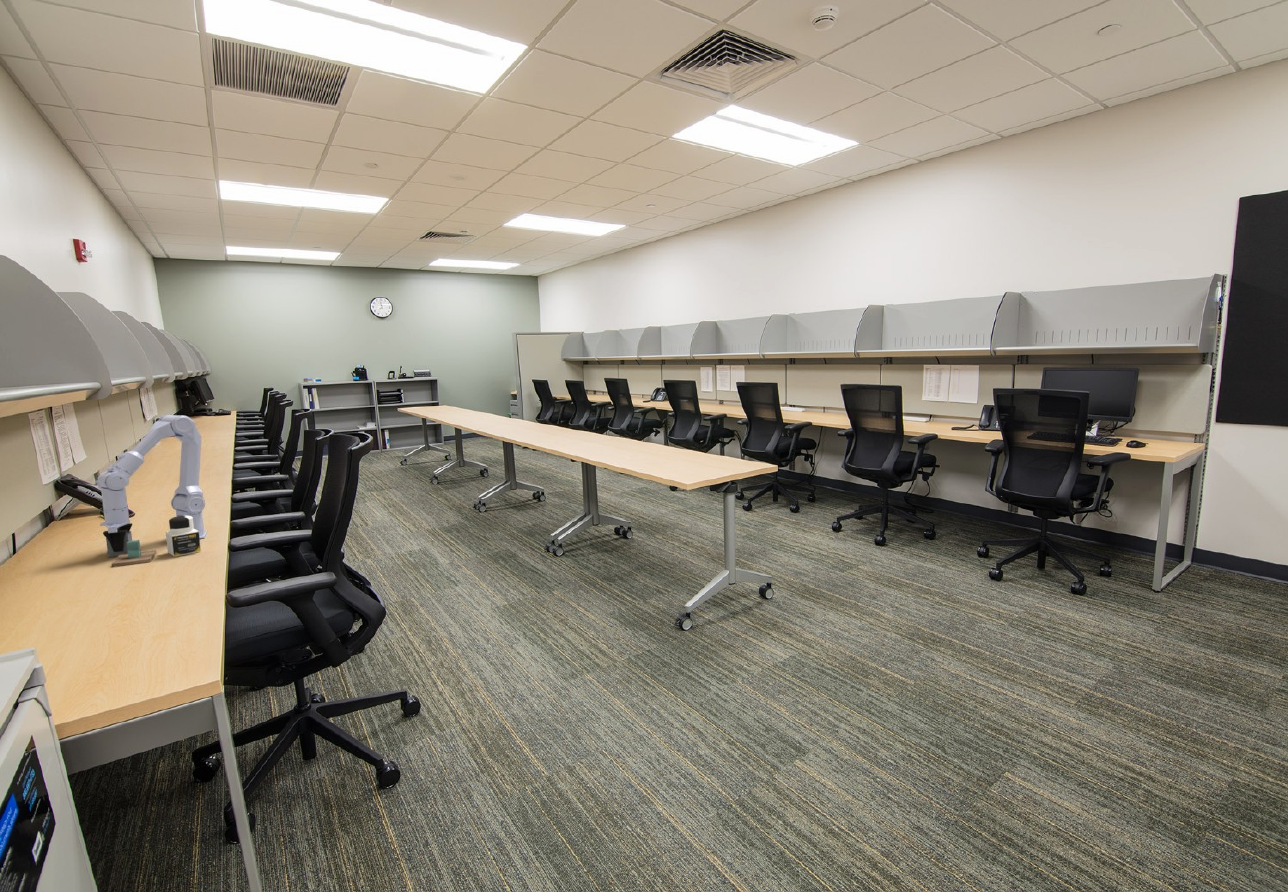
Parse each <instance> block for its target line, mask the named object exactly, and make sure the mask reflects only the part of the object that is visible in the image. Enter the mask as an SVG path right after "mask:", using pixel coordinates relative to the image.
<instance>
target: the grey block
mask: <svg viewBox="0 0 1288 892" xmlns="http://www.w3.org/2000/svg"><path fill="white" fill-rule="evenodd" d="M132 535H133V534H132V531H131V530H130V531H128V532H126V535H125V539H124V548H123V551H120V552H114V551H113V549H112V547H111V545H110V542H109V541H108V539H107V538H106V537H105V541H106V542H105V543H106V551H107V557H108V558H114V556H116V557H118V556H119V555H122V554H128V551H127V542H128V541H133V536H132Z"/></svg>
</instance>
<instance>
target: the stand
mask: <svg viewBox="0 0 1288 892" xmlns="http://www.w3.org/2000/svg"><path fill="white" fill-rule="evenodd" d="M127 551H128V554H122V555H119V556H116V557H115V560H113V562H112V563H111V568H115V566H117V567H122V566H123V567H124V566H129V565H130V564H131V565H138V564H139V565H140V564H145V563H151V562H152V561H153V559H154V557H156V555H157V549H155V550H147V551H141V545H140V539H135V540H133V539H132V541H128V542H127Z"/></svg>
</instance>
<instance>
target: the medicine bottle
mask: <svg viewBox="0 0 1288 892" xmlns="http://www.w3.org/2000/svg"><path fill="white" fill-rule="evenodd" d="M168 525H169V531H166V532H165V538H166V547H167V548H166V549H167V553H168V554H169V555H171V556H173V557H174V558H176V557H180V556H186V555H191V554H195V553H200V552H201V550H202V549H201V541H200V539H201V538H199V531H197V530H196V529H194V525H193V517H191V516H177V517H176V516H174V517H171V518H169V520H168Z"/></svg>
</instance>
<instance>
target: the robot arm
mask: <svg viewBox="0 0 1288 892" xmlns="http://www.w3.org/2000/svg"><path fill="white" fill-rule="evenodd" d="M196 424H197V422H196V421H195V420H193V419H192V418H191V417H189V416H187V415H177V414H163V415H161V416H160V417H159V419H158V420H156V421H155V422H154V423H153V425H152V426H151V429H150V430H149V431H148V432H147V433H146V434H145V436H143V438H142V439H140V441H139V442H138V444H137V445H136V446H135V447H134V448H133V449H132V450H131V451H125V452H123V453H120V454H119V455H118V456H117V457H118V459H117V460H116V461H115V462H114V463H113V464H112V465H111V466H108V467H107V468H106V470H107V471H104V472H101V473H100V474H99V475H98V477H97V480H95V484H96V486H97V487H98V488H100V489H101V500H102V510H103V516H104V522H100V523H99V526H101V527H102V526H103V527H106V528H107V530H104V531H103V532H102V534H103V536H104V538H105V539H106V538H107V539H108V541H109V542H110V545H111V547H112V549H113V551H114V552H120V551H123V548H124V539H125V535H126V532H128V531H131V529H132V527H133V523H132V522H131V519H130V514H129V507H128V499H127V491H126V489H127V488H126V487H127V486H128V485H130V478H131V477H132V476H133V475H134V474H135V473H136V471H137V470H138V469H139V468H140V467H142V465H143V464H144V463H145V456H146V455H147V454H148V453H149V452H150V451H152V450H153V448H154V447H155V446H157V444H158V443H159V442H161V440H163V439H166V438H172V437H175V438H176V439H177V440H178V441H180V442H181V448H180V465H179V466H180V467H179V480H178V481H179V484H178V487H177V488H176V489H175V491H174V495H173V497H172V499H171V501H170V505H171V508H172V509H173V510H175V515H176V516H175V517H177V516H191V517H193V525H194V529H196V530H197V531H199V538H200V539H205V538H206V536H205V535H207V532H208V530H205V528H204V518H203V510H204V509H205V508H206V501H205V498H204V492H203V490H202V489H201V488H200V486H199V484H200V470H201V469H200V468H201V452H202V436H201V434H200V432H199V430H198V428H197V425H196Z"/></svg>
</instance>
